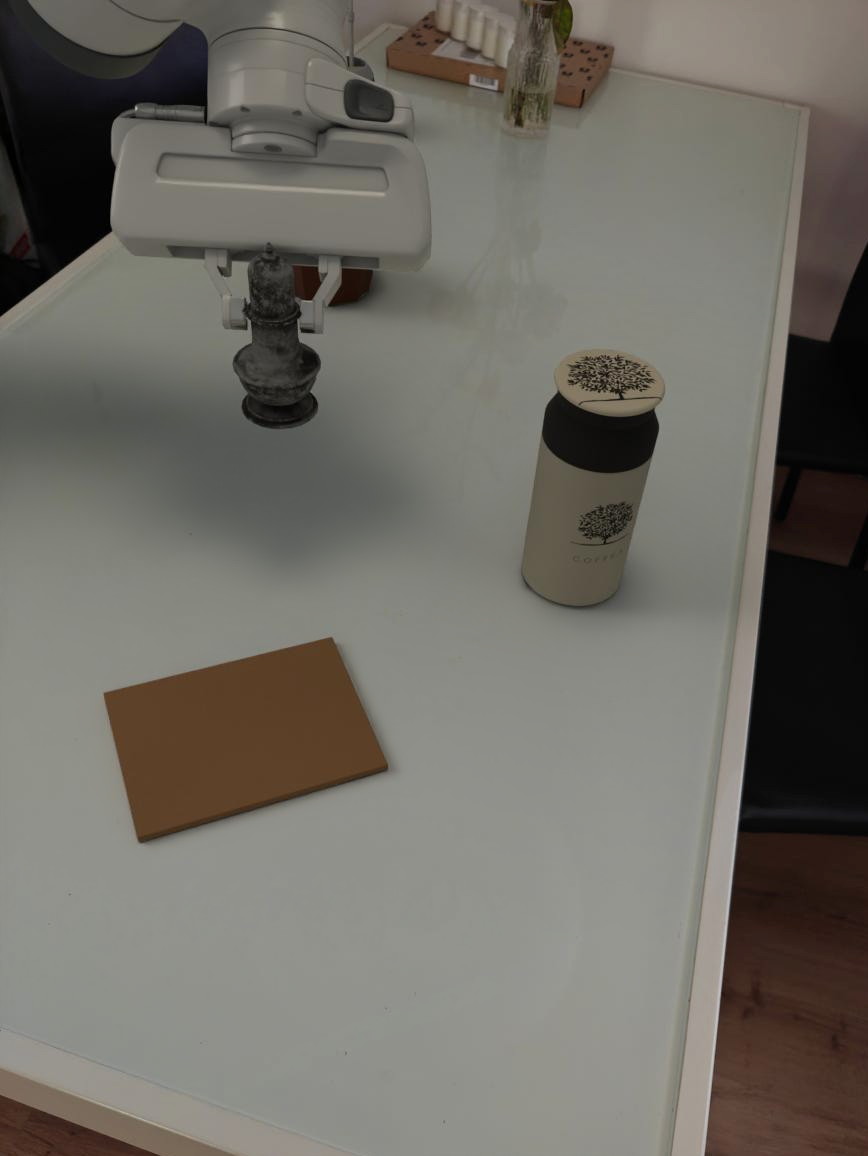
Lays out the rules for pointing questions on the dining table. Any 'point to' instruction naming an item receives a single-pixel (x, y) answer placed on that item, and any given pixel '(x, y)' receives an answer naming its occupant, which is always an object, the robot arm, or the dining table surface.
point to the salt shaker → (275, 349)
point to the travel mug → (590, 475)
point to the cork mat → (239, 736)
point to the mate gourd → (354, 63)
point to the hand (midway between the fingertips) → (274, 330)
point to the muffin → (349, 290)
